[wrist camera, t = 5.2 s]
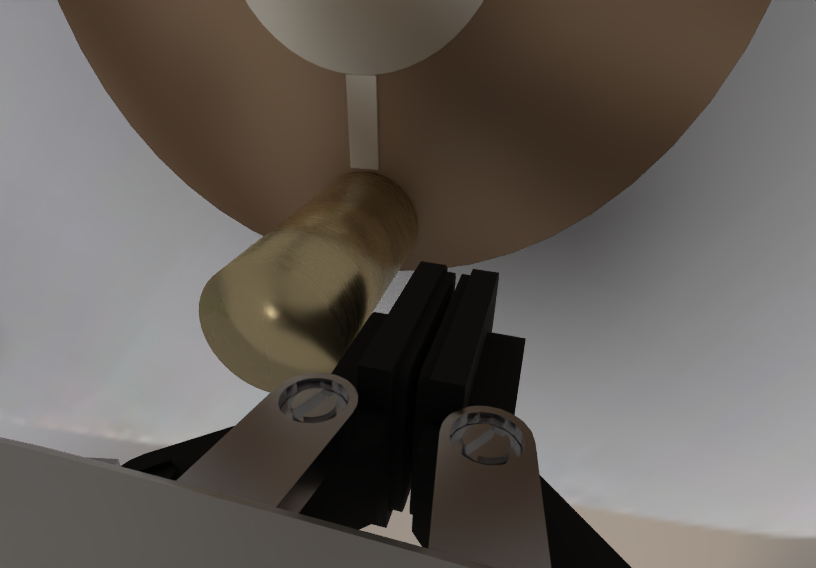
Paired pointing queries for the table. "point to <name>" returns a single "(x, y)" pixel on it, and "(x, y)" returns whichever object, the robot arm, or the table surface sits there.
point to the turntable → (395, 135)
